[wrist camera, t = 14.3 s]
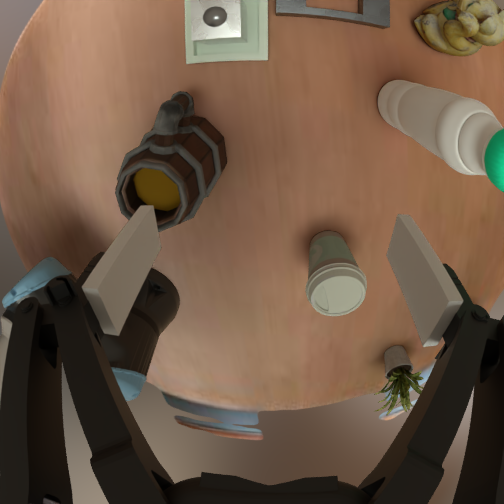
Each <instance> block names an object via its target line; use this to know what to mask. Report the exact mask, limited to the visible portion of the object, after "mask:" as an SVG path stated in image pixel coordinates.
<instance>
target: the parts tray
mask: <svg viewBox="0 0 504 504" xmlns="http://www.w3.org/2000/svg"><path fill="white" fill-rule="evenodd" d="M243 1H244V3H245V5H246V7H247V36H248V43H230V44H215V45H206V44H202V43H198V42H195V41H192V35H191V0H185V43H186V64H194V63H206V62H221V61H268V0H243Z"/></svg>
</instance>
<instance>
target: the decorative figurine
mask: <svg viewBox="0 0 504 504" xmlns="http://www.w3.org/2000/svg"><path fill="white" fill-rule="evenodd" d="M422 13H423V14H424V15H420V16H419V17H417V18H416V19H415V20H414V24H415V26H416V28H417V30H418V32H419V33H420V35H421V37H422V38H423V39H424V41H425V42H426V43H427V44H428V45H429V46H430V47H432V48H433V49H435V50H437V51H439V52H442V53H446V54H449V55H454V56H469V55H472V54H474V53H476V52H478V50H479V49H480V48H481V47H482V45H486V46H495V45H497V44H499V43H501V42H502V41H503V40H504V9H503V10H501V9H500V8H499V7H498V6H497V4H496V3H494V2H493V1H492V0H448V1H443V2H440V3H437V4H434V5H432V6H430V7H428V8H427V9H426V10H424V11H423V12H422Z"/></svg>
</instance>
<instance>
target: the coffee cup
mask: <svg viewBox="0 0 504 504" xmlns="http://www.w3.org/2000/svg"><path fill="white" fill-rule="evenodd" d="M366 289H367V282H366V277H365V275H364V273H363V272H362V271H361V270H360V269H359V267H358V265H357V263H356V261H355V259H354V257H353V256H352V254H351V252H350V250H349V248H348V246H347V244H346V243H345V241H344V239H343V237H342V236H341V235H340V234H339V233H337V232H334V231H323V232H320V233H318V234H317V235H315V236H314V237H313V239H312V240H311V242H310V251H309V273H308V281H307V284H306V295H307V298H308V300H309V302H310V303H311V304H312V306H313V308H314V309H315V310H316V311H318V312H319V313H321V314H323V315H327V316H341V315H345V314H348V313H350V312H352V311H353V310H355V309H356V308H358V307H359V306H360V305H361V303H362V302H363V300H364V298H365V292H366Z"/></svg>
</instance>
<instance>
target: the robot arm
mask: <svg viewBox="0 0 504 504" xmlns="http://www.w3.org/2000/svg"><path fill="white" fill-rule="evenodd" d="M160 249H161V243H160V238H159V233H158V228H157V222H156V217H155V212H154V206H153V205H145V206H140V207H139V208H138V210H137V211H136V212H135V213H134V215H133V216H132V217H131V219H130V220H129V221H128V222H127V224H126V225H125V226H124V228H123V229H122V230H121V232H120V233H119V234H118V236H117V237H116V238H115V240H114V241H113V243H112V244H111V245H110V247H109V248H108V249H107V251H106V252H100V253H99V254H98V255H96V256H95V257H94V258H93V259H92V260H91V261H90V263H89V264H88V267H86V268H85V270H84V272H83V273H82V274H81V276H80V277H79V279H78V280H77V279H76V278H75V276H74V275H73V274H72V272H71V271H68V270H67V269H66V268H65V267H64V266H63V265H62V264H61V263H60V262H59V261H58V260H57V259H55V258H53V257H47V258H45V259H43V260H42V261H41V262H39V263H38V264H37V265H36V266H35V267H34V268H32V269H31V270H30V271H29V272H28V273H27V274H26V275H25V276H24V277H23V278H22V279H21V280H20V281H19V282H18V283H17V284H16V285H15V286H14V287H13V288H12V289H11V290H10V291H9V292H8V294H6V295H5V297H4V298H3V300H2V303H3V305H4V307H5V308H7V309H6V311H5V312H4V314H3V315H2V317H1V324H2V334H1V336H0V504H73V499H72V489H71V483H70V476H69V470H68V464H67V456H66V448H65V439H64V428H63V414H62V385H61V384H62V382H61V381H62V380H61V378H62V362H63V366H64V370H65V374H66V378H67V382H68V385H69V389H70V392H71V395H72V399H73V402H74V405H75V408H76V411H77V414H78V417H79V420H80V423H81V425H82V428H83V431H84V434H85V436H86V439H87V441H88V444H89V446H90V449H91V451H92V458H91V459H90V463H91V466H92V469H93V472H94V474H95V476H96V478H97V480H98V482H99V485H100V486H101V489H102V491H103V493H104V495H105V497H106V499H107V501H108V502H109V504H428V502H429V500H430V499H431V497H432V495H433V494H434V492H435V490H436V488H437V487H438V485H439V483H440V481H441V479H442V477H443V474H444V469H443V468H442V463H443V461H444V459H445V457H446V455H447V453H448V450H449V448H450V446H451V444H452V442H453V440H454V438H455V435H456V433H457V431H458V428H459V426H460V423H461V421H462V418H463V415H464V413H465V410H466V408H467V405H468V402H469V399H470V397H471V394H472V390H473V387H474V397H473V407H472V415H471V423H470V429H469V435H468V441H467V446H466V452H465V456H464V461H463V465H462V470H461V474H460V478H459V481H458V485H457V489H456V493H455V495H454V499H453V503H452V504H504V316H503V317H502V319H501V320H496V319H492V318H490V316H489V314H488V313H487V311H486V310H485V309H484V308H482V307H481V306H479V305H476V304H473V303H472V301H471V299H470V297H469V295H468V294H467V292H466V290H465V288H464V287H463V285H462V283H461V282H460V280H459V279H458V277H457V275H456V273H455V272H454V270H453V269H452V268H450V267H449V266H448V265H447V264H442V263H441V261H440V259H439V258H438V256H437V255H436V253H435V251H434V250H433V248H432V247H431V245H430V244H429V242H428V241H427V239H426V238H425V236H424V235H423V233H422V232H421V230H420V229H419V227H418V226H417V225H416V223H415V222H414V220H413V219H412V217H411V216H410V215H404V214H398V215H397V219H396V223H395V227H394V230H393V234H392V238H391V241H390V245H389V248H388V252H387V255H386V256H387V258H388V260H389V262H390V264H391V267H392V269H393V271H394V274H395V276H396V278H397V280H398V283H399V285H400V288H401V290H402V292H403V295H404V297H405V300H406V302H407V305H408V307H409V310H410V312H411V315H412V318H413V320H414V323H415V326H416V328H417V331H418V334H419V337H420V339H421V342H422V345H423V347H426V346H435V345H437V344H438V343H439V341H440V340H441V338H442V336H443V338H444V341H445V344H444V346H443V347H442V349H441V350H440V352H439V353H438V354H437V356H436V357H435V359H437V361H436V363H435V365H434V367H433V370H432V372H431V374H430V376H429V378H428V380H427V382H426V384H425V386H424V388H423V390H422V392H421V394H420V396H419V398H418V400H417V402H416V404H415V405H414V407H413V409H412V411H411V413H410V414H409V416H408V418H407V420H406V422H405V423H404V425H403V426H402V428H401V430H400V432H399V433H398V435H397V436H396V438H395V439H394V441H393V443H392V444H391V446H390V448H389V449H388V450H387V452H386V453H385V455H384V456H383V458H382V459H381V461H380V462H379V463H378V465H377V466H376V467H375V469H374V470H373V471H372V472H371V473H370V474H369V475H368V476H367V477H366V478H365V479H364V480H363V482H362V483H361V484H360V485H359V486H358V488H357V487H356V486H353V485H351V484H348V483H345V482H341V481H338V478H337V476H329V477H311V478H302V479H298V480H294V481H290V482H286V483H281V484H277V485H264V484H261V483H257V482H253V481H250V480H247V479H243V478H240V477H237V476H231V475H221V474H213V473H205V472H202V473H201V477H196V478H191V479H187V480H183V481H180V482H178V483H176V484H174V482H173V480H172V479H171V477H170V476H169V475H168V473H167V472H166V471H165V469H164V468H163V467H162V466H161V464H160V463H159V461H158V460H157V458H156V457H155V455H154V453H153V451H152V450H151V448H150V446H149V444H148V443H147V441H146V439H145V437H144V435H143V434H142V432H141V430H140V428H139V426H138V424H137V422H136V420H135V419H134V416H133V414H132V412H131V411H130V408H129V406H128V404H127V402H126V401H129V400H133V399H135V398H136V397H138V395H139V394H140V392H141V389H142V387H143V384H144V382H145V381H146V376H147V373H148V369H149V366H150V363H151V360H152V357H153V354H154V351H155V348H156V344H157V341H158V338H159V336H160V334H161V333H162V332H163V331H164V329H165V328H166V327H167V326H168V325H169V324H170V322H171V321H172V320H173V319H174V318H175V316H176V314H177V311H178V308H179V304H180V299H179V295H178V292H177V290H176V288H175V287H174V285H173V284H172V283H171V282H170V281H169V280H168V279H167V278H166V277H165V276H163V275H162V274H161V273H159V272H157V271H156V270H154V269H151V267H152V265H153V263H154V261H155V259H156V257H157V255H158V253H159V251H160Z"/></svg>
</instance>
